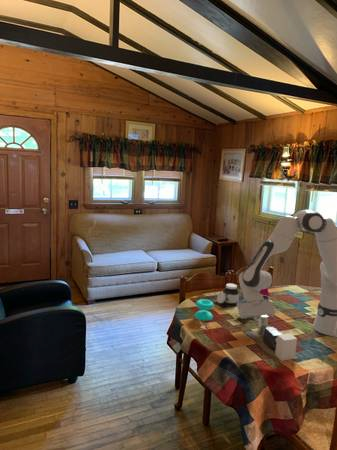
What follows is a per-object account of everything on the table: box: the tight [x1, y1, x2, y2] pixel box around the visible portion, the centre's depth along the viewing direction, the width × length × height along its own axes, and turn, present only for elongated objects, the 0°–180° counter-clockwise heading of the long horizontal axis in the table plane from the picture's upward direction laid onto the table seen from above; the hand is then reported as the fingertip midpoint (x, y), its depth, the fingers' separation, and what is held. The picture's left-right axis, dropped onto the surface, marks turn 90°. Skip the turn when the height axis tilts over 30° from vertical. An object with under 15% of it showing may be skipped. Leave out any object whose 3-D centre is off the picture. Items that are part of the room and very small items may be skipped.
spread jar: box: [216, 283, 240, 306], centre depth 219 cm, size 12×11×12 cm
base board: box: [245, 330, 300, 362], centre depth 170 cm, size 13×28×1 cm, turn 18°
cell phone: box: [199, 323, 210, 331], centre depth 185 cm, size 9×18×1 cm, turn 68°
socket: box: [275, 333, 298, 362], centre depth 158 cm, size 7×5×10 cm
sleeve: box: [263, 326, 283, 350], centre depth 168 cm, size 5×8×8 cm, turn 18°
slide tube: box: [257, 315, 277, 343], centre depth 169 cm, size 4×18×10 cm, turn 18°
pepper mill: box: [259, 288, 270, 297], centre depth 222 cm, size 7×7×20 cm
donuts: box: [194, 298, 215, 322], centre depth 195 cm, size 10×10×10 cm
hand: (261, 325), depth 178 cm, fingers closed, pressing on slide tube
